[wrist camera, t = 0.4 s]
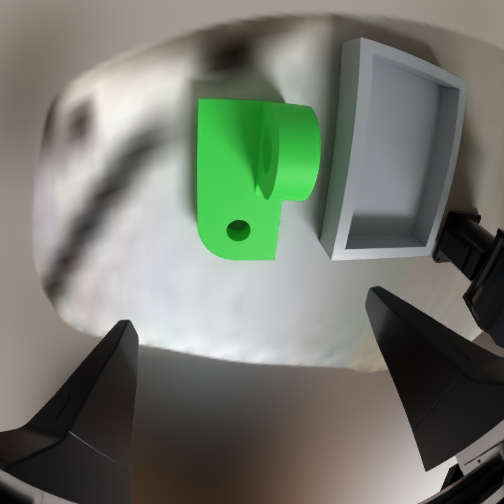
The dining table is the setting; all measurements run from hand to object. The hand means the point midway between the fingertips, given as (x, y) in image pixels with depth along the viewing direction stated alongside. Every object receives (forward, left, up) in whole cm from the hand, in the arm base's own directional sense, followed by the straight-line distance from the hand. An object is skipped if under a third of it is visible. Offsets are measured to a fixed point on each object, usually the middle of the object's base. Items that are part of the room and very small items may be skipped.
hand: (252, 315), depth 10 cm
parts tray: (-13, -4, -13) cm, 19 cm away
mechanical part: (-1, -1, -13) cm, 13 cm away
